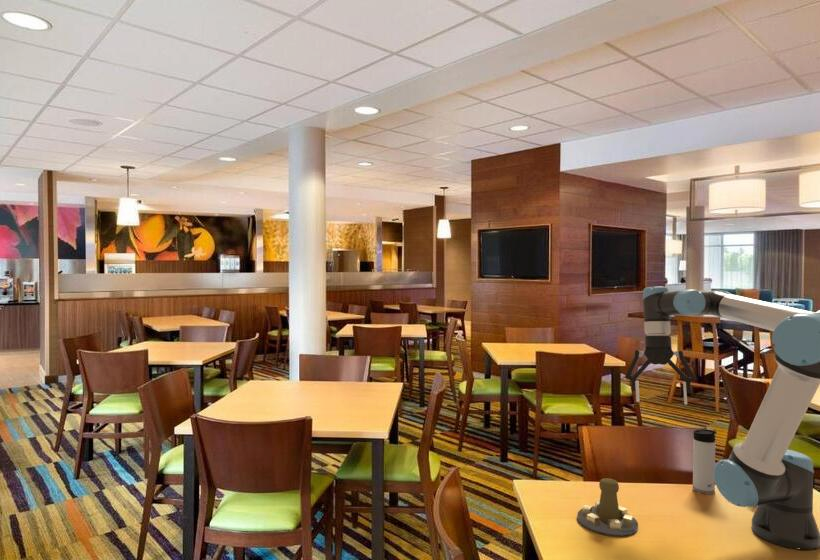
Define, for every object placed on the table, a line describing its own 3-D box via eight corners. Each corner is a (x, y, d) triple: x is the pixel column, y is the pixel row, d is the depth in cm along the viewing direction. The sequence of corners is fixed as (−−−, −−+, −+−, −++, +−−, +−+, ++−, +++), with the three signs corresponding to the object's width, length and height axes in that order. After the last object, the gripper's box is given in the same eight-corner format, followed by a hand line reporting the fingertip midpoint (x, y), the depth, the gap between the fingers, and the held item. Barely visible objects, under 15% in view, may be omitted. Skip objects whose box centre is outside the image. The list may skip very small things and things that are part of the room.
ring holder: (642, 518, 147) (642, 508, 147) (632, 542, 134) (632, 531, 134) (585, 505, 156) (585, 495, 156) (570, 526, 142) (571, 515, 142)
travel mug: (715, 496, 163) (716, 433, 163) (692, 491, 167) (692, 430, 167) (716, 489, 168) (716, 429, 168) (693, 485, 172) (694, 425, 172)
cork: (622, 524, 141) (622, 484, 141) (599, 522, 143) (599, 483, 143) (617, 514, 147) (618, 476, 147) (595, 512, 149) (596, 474, 149)
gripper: (702, 335, 161) (706, 403, 158) (617, 335, 173) (620, 399, 170) (702, 334, 154) (707, 406, 152) (614, 335, 166) (617, 401, 164)
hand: (661, 402), depth 161 cm, fingers open, 13 cm apart
